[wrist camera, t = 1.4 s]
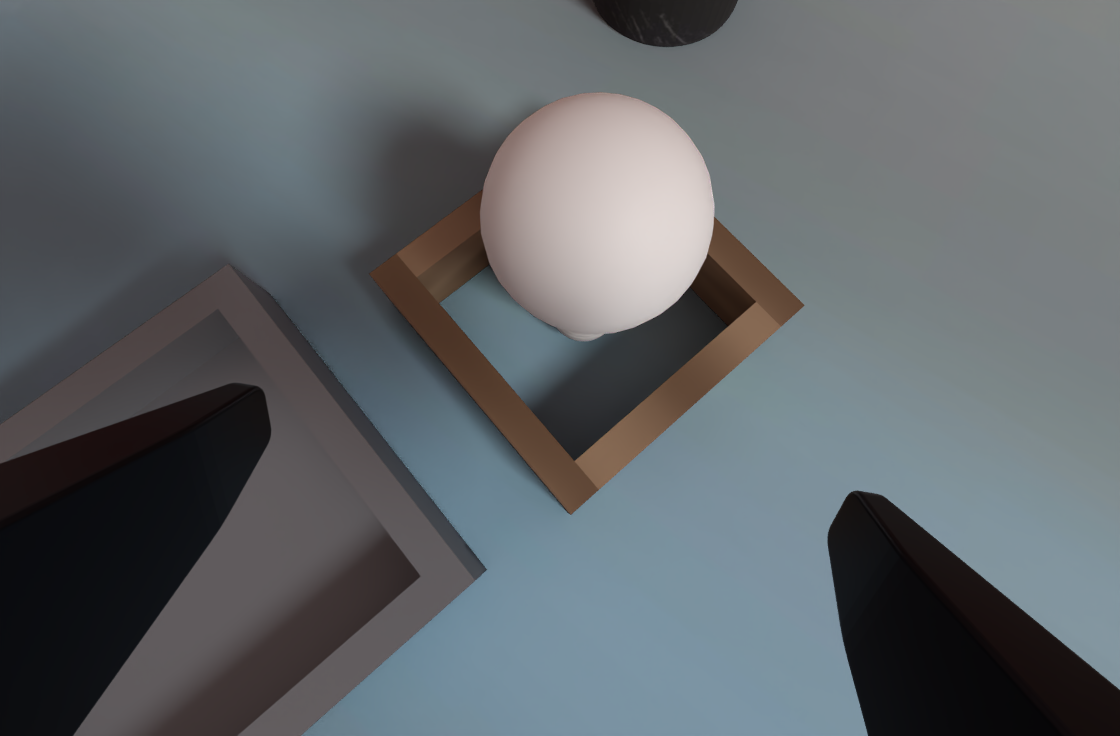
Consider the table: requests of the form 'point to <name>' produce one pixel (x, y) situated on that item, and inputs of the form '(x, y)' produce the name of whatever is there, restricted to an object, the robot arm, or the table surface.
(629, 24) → the travel mug
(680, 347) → the table surface
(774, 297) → the socket block
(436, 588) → the tray
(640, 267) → the lightbulb
